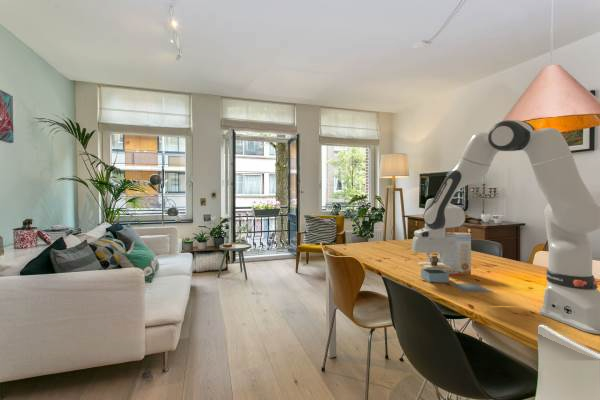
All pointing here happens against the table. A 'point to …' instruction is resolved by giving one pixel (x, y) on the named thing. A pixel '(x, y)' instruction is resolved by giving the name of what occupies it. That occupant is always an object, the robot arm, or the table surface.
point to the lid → (434, 265)
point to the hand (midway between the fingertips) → (434, 262)
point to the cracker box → (459, 256)
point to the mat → (471, 287)
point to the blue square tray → (435, 276)
